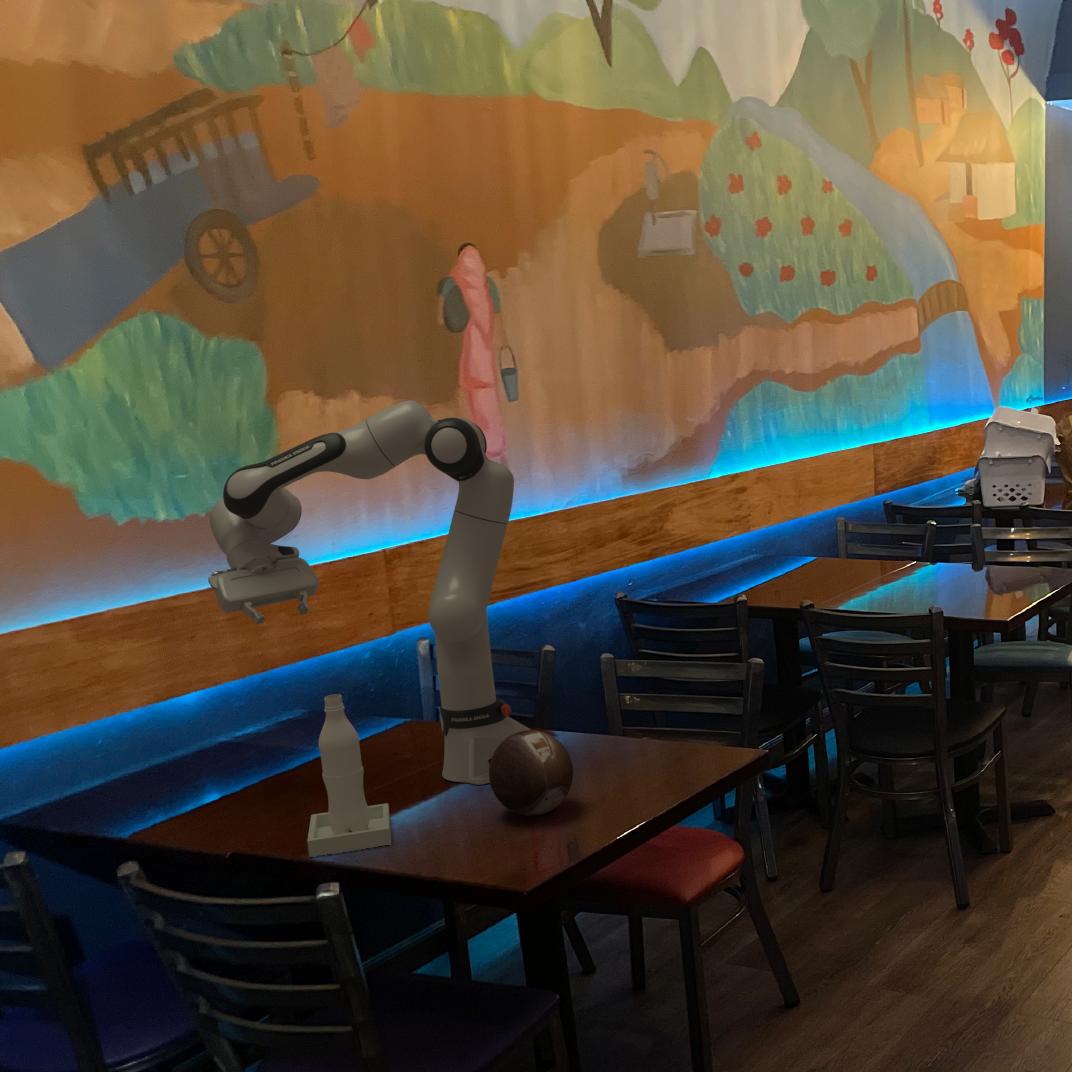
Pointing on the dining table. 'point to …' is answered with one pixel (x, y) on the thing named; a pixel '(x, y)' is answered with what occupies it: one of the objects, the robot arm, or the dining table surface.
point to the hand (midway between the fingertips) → (283, 616)
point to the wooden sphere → (530, 773)
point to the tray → (329, 843)
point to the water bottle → (342, 770)
